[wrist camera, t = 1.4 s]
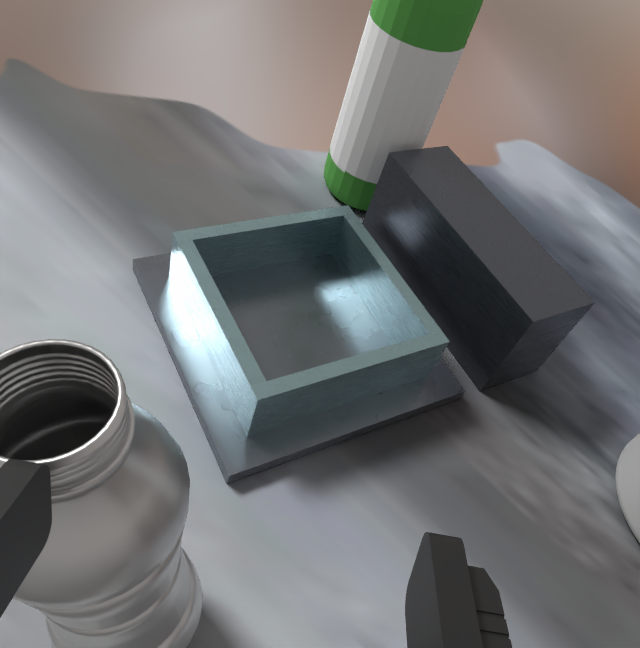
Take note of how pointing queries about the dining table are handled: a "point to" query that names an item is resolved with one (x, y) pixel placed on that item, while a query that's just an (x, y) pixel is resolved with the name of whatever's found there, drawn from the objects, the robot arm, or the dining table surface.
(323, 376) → the teal open bin
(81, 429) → the plastic bottle
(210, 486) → the dining table surface
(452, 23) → the wine bottle
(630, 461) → the cylinder vase
